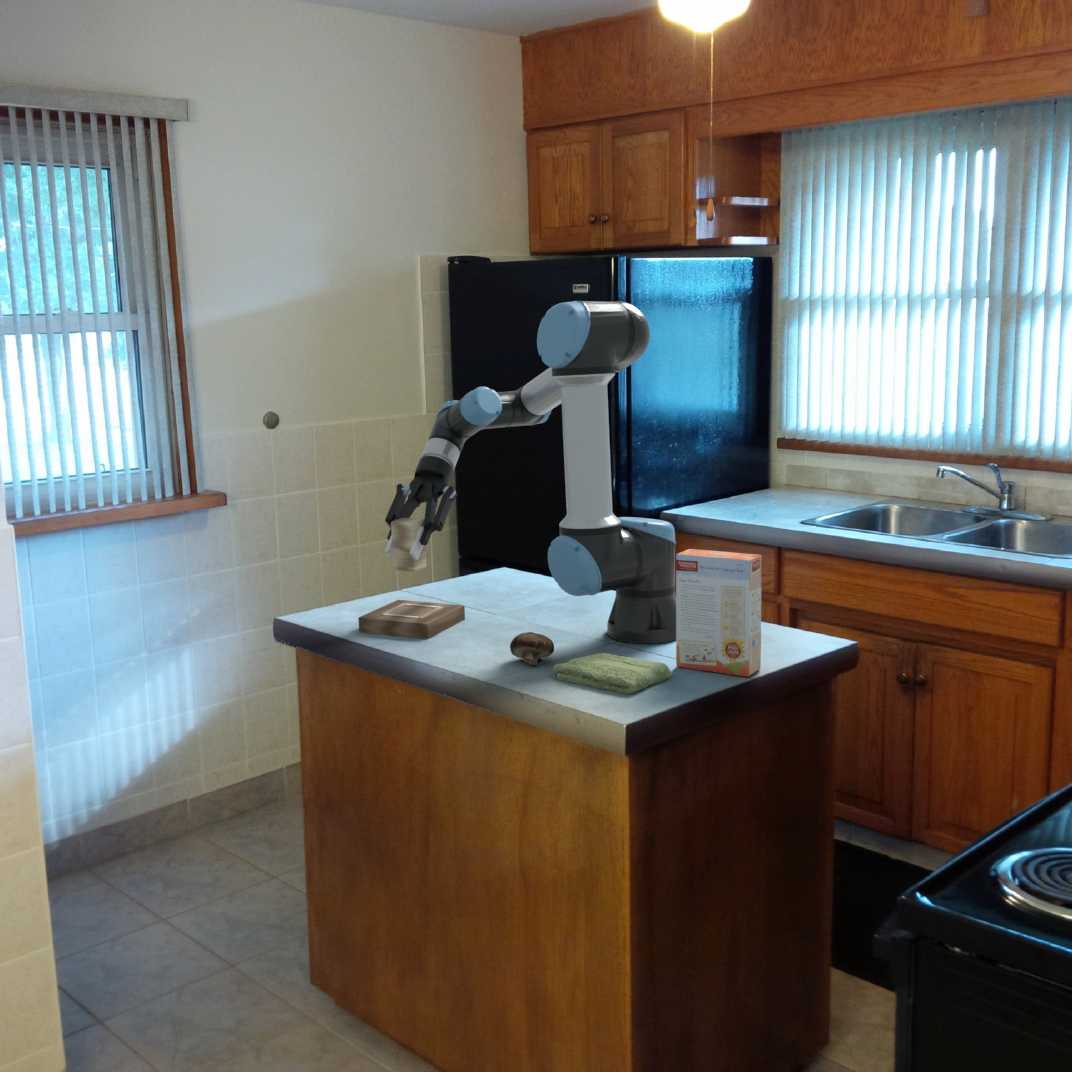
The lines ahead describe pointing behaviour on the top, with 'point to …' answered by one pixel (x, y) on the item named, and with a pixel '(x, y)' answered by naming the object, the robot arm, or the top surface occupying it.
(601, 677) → the washcloth
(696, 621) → the cracker box
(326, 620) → the top surface
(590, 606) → the top surface
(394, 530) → the beech pillar
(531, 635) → the mushroom
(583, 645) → the top surface
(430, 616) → the base board
